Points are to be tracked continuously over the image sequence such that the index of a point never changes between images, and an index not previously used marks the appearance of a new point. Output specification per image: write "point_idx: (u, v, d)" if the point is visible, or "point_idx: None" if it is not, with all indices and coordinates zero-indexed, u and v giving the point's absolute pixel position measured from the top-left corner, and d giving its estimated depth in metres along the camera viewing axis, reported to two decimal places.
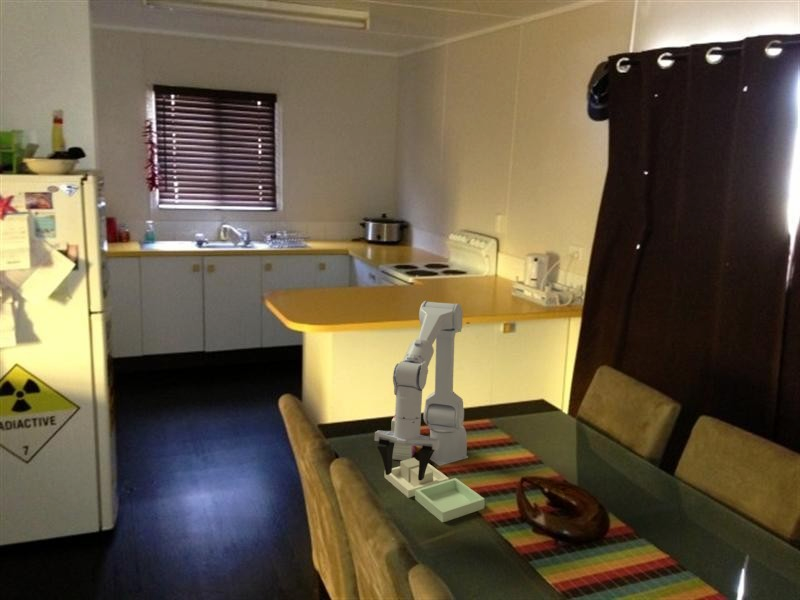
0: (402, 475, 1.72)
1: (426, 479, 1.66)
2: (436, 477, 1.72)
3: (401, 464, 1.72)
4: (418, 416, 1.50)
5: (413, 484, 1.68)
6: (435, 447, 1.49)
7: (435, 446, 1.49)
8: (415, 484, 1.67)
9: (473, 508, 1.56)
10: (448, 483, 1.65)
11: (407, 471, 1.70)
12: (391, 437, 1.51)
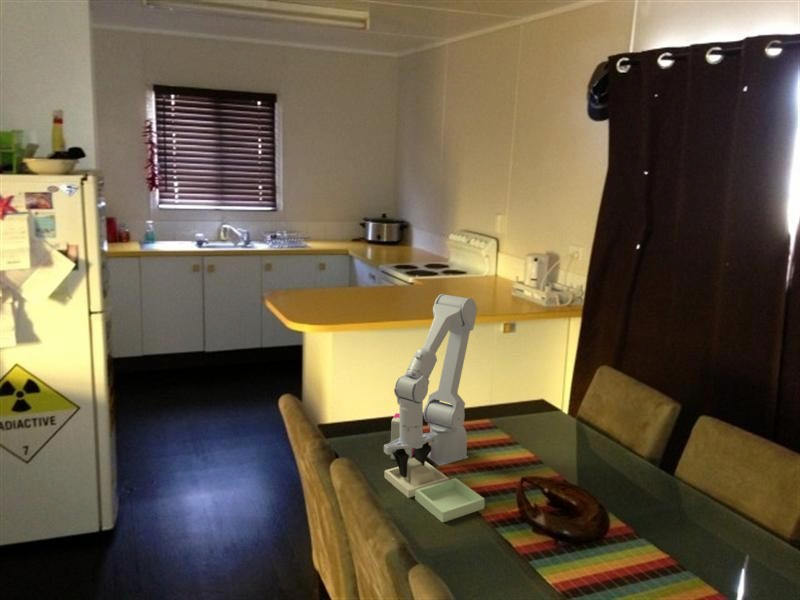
0: None
1: (426, 479, 1.66)
2: (436, 477, 1.72)
3: None
4: (417, 425, 1.67)
5: (413, 484, 1.68)
6: (436, 439, 1.73)
7: (436, 439, 1.73)
8: (415, 484, 1.67)
9: (473, 508, 1.56)
10: (448, 483, 1.65)
11: (407, 471, 1.70)
12: (405, 446, 1.67)
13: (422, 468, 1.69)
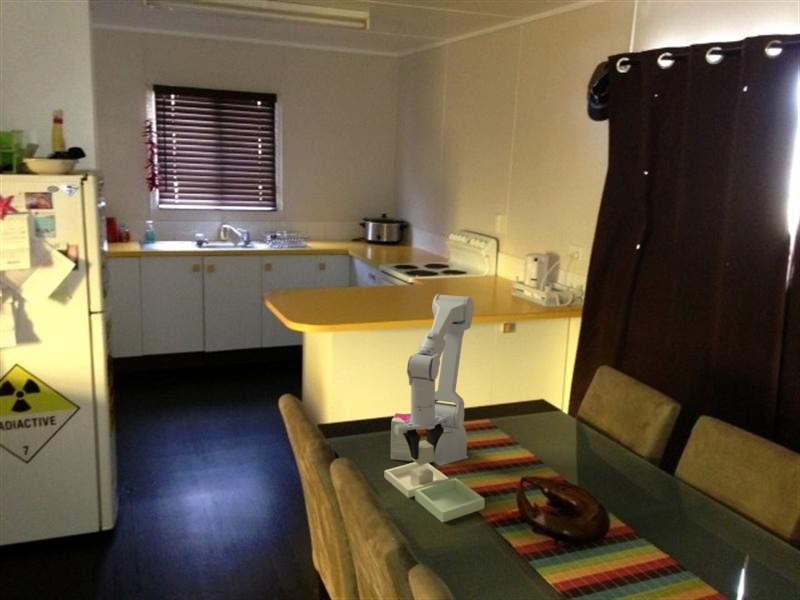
0: None
1: (426, 479, 1.66)
2: (436, 477, 1.72)
3: None
4: (432, 404, 1.62)
5: (413, 484, 1.68)
6: (449, 421, 1.67)
7: (449, 420, 1.67)
8: (415, 484, 1.67)
9: (473, 508, 1.56)
10: (448, 483, 1.65)
11: (418, 453, 1.64)
12: (417, 427, 1.61)
13: (422, 468, 1.69)
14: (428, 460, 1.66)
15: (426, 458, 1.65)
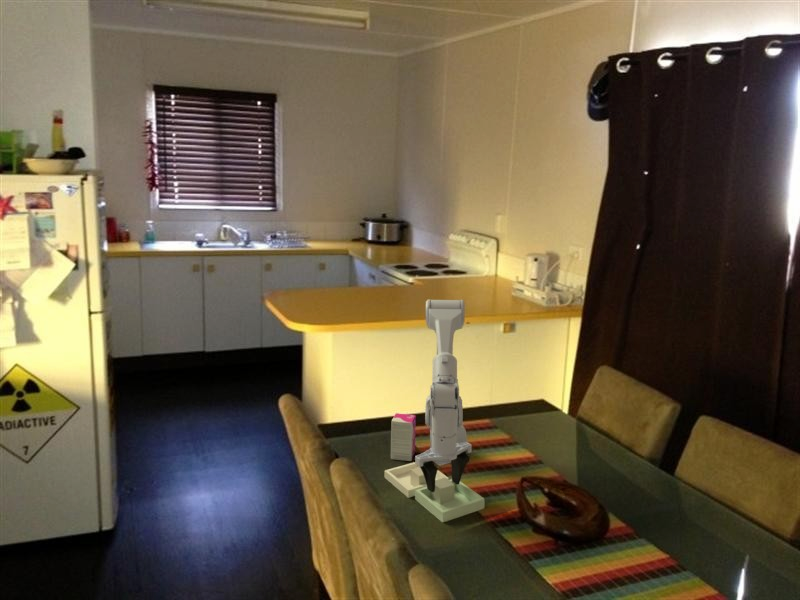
0: (433, 496, 1.62)
1: None
2: (436, 477, 1.72)
3: None
4: (455, 432, 1.57)
5: (413, 484, 1.68)
6: (470, 450, 1.62)
7: (470, 449, 1.62)
8: (415, 484, 1.67)
9: (473, 508, 1.56)
10: None
11: (438, 492, 1.60)
12: (439, 457, 1.56)
13: None
14: (449, 499, 1.61)
15: (447, 496, 1.60)
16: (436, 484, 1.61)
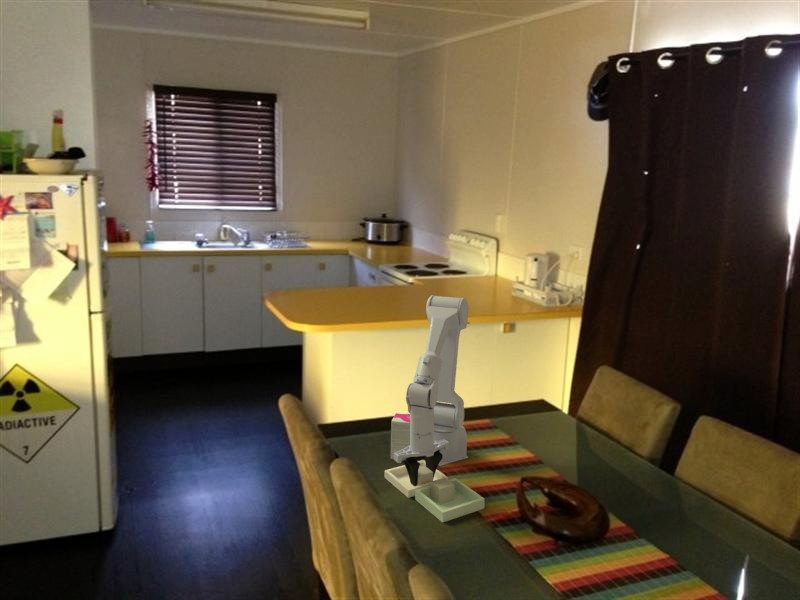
0: (433, 496, 1.62)
1: (426, 479, 1.66)
2: (436, 477, 1.72)
3: (432, 485, 1.62)
4: (431, 431, 1.63)
5: None
6: (448, 447, 1.69)
7: (447, 446, 1.69)
8: None
9: (473, 508, 1.56)
10: None
11: (438, 492, 1.60)
12: (416, 454, 1.63)
13: (422, 468, 1.69)
14: (449, 499, 1.61)
15: (447, 496, 1.60)
16: (436, 484, 1.61)
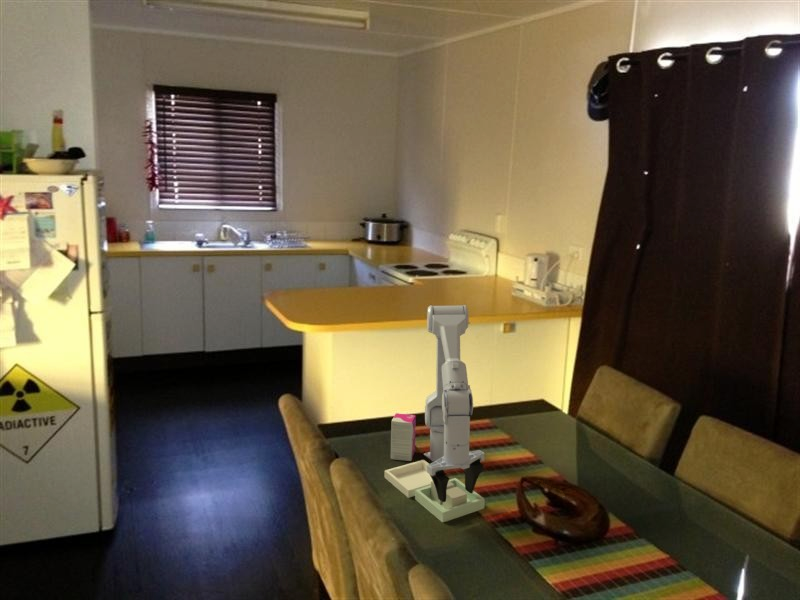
0: (433, 496, 1.62)
1: (460, 501, 1.56)
2: None
3: (432, 485, 1.62)
4: None
5: (445, 506, 1.58)
6: (483, 458, 1.58)
7: (483, 457, 1.58)
8: (448, 507, 1.57)
9: (473, 508, 1.56)
10: None
11: None
12: (451, 466, 1.52)
13: (455, 489, 1.58)
14: None
15: None
16: None
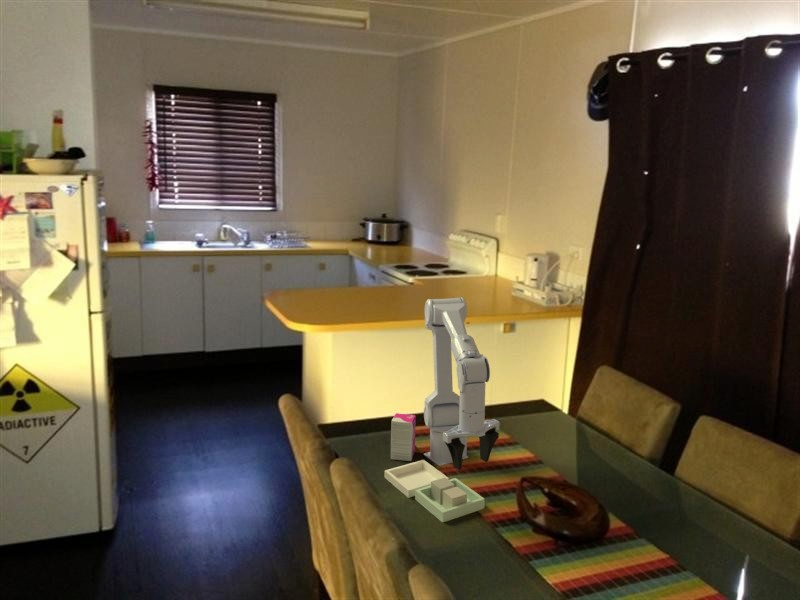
0: (433, 496, 1.62)
1: (460, 501, 1.56)
2: (436, 477, 1.72)
3: (432, 485, 1.62)
4: (484, 407, 1.55)
5: (445, 506, 1.58)
6: (498, 427, 1.59)
7: (498, 426, 1.59)
8: (448, 507, 1.57)
9: (473, 508, 1.56)
10: None
11: (438, 492, 1.60)
12: (467, 434, 1.53)
13: (455, 489, 1.58)
14: None
15: None
16: (436, 484, 1.61)
